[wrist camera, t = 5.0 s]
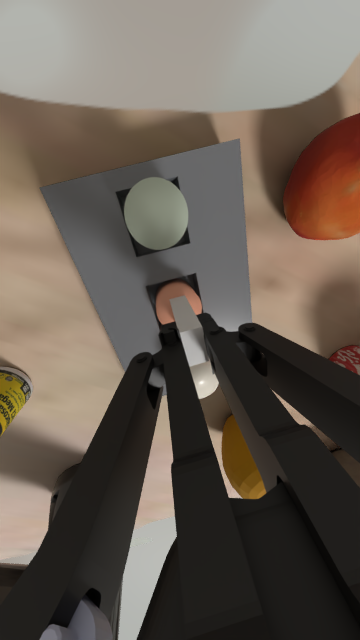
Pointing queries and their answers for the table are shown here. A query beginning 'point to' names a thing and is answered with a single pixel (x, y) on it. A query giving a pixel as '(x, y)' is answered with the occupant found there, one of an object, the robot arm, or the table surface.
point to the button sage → (156, 213)
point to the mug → (348, 358)
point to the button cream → (204, 379)
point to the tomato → (327, 185)
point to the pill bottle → (12, 394)
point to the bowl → (348, 464)
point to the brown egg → (174, 290)
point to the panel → (158, 265)
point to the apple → (240, 462)
